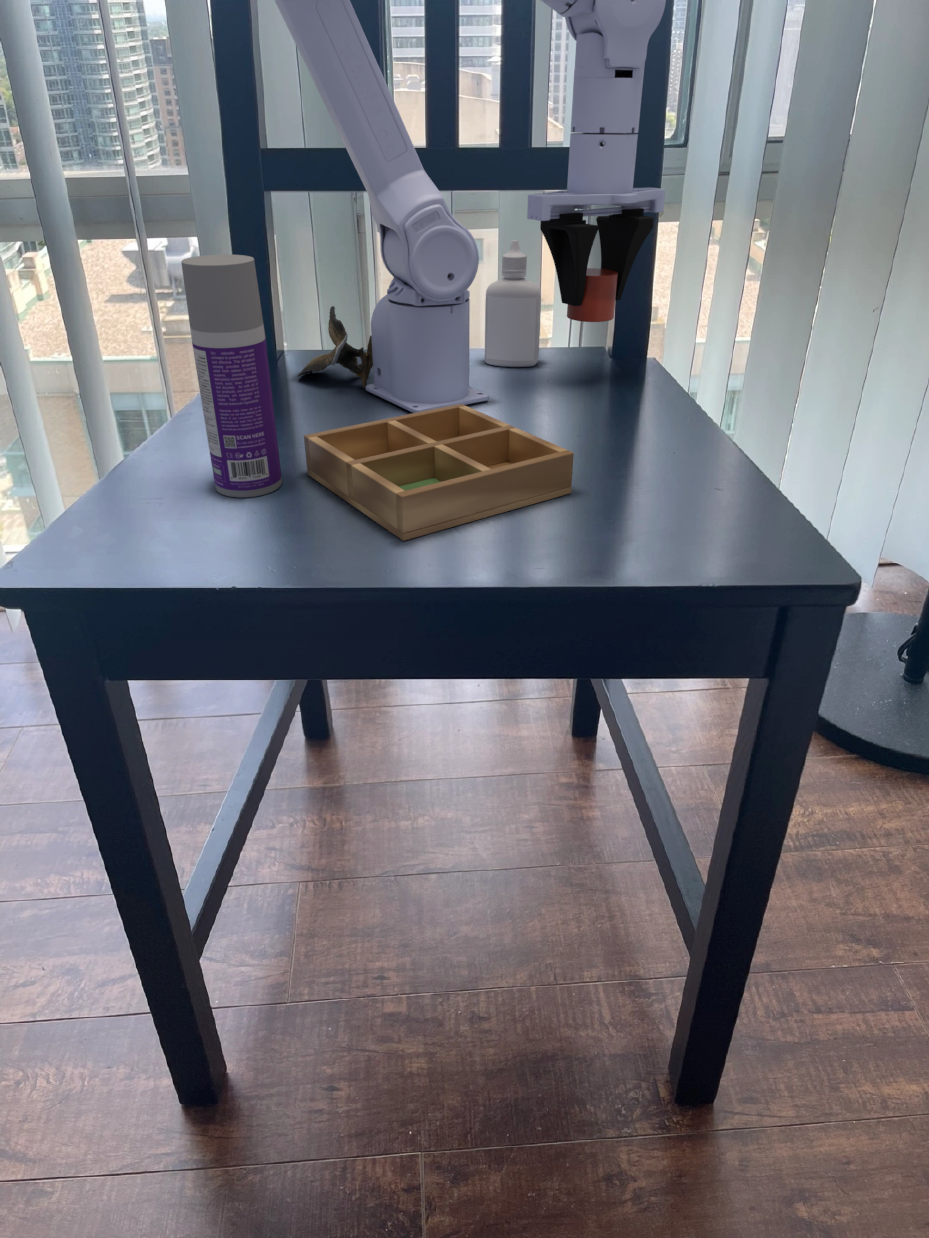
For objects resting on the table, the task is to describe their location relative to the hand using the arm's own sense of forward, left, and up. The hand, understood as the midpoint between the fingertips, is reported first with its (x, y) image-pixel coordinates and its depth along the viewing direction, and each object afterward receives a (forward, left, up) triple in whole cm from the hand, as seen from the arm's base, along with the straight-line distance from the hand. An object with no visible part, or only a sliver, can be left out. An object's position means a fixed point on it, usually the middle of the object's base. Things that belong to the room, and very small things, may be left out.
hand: (591, 301), depth 80 cm
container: (+6, -37, -8) cm, 39 cm away
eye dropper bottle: (-10, -1, -8) cm, 13 cm away
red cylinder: (0, 0, -1) cm, 1 cm away
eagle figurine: (-14, -19, -8) cm, 25 cm away
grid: (+14, -26, -8) cm, 30 cm away
